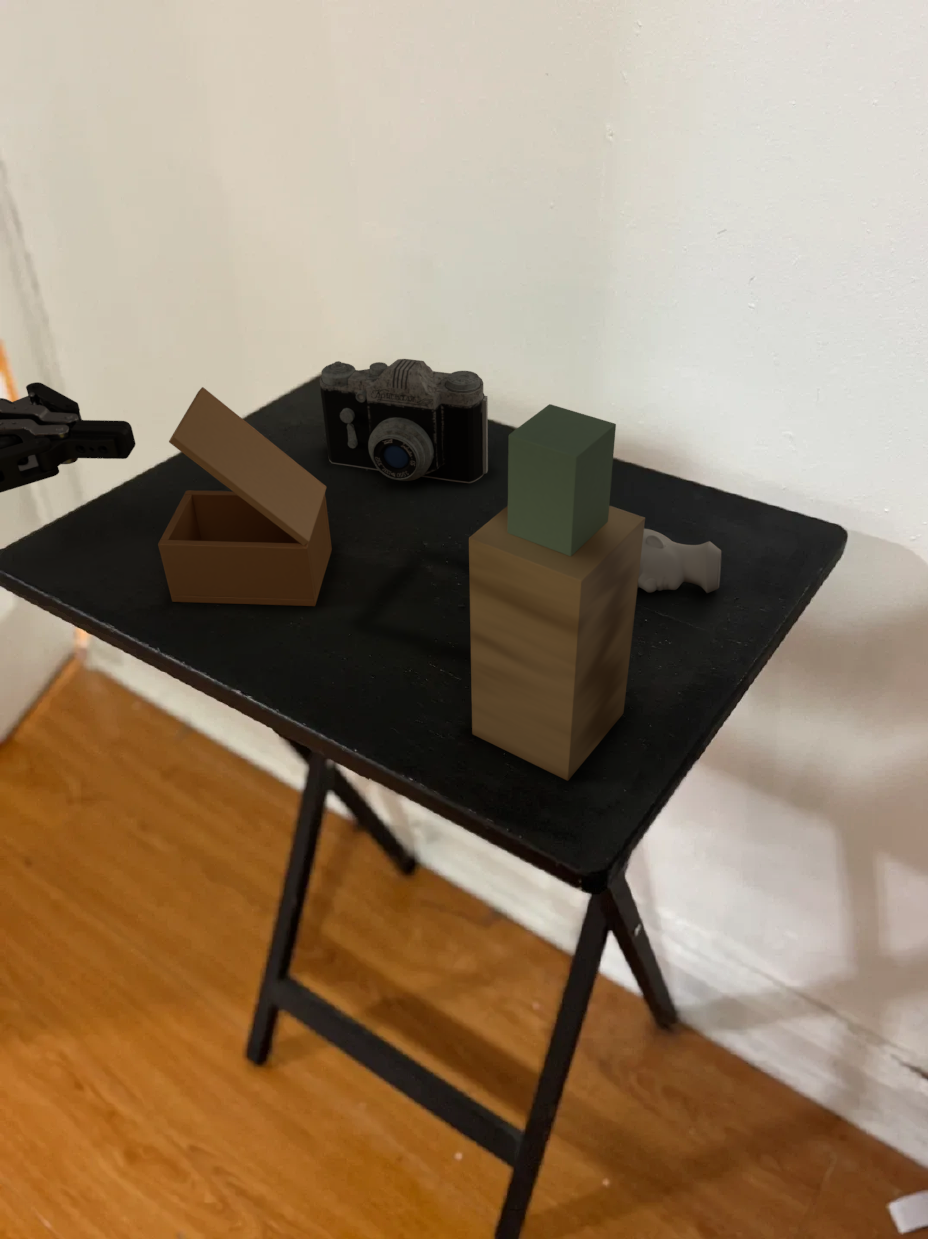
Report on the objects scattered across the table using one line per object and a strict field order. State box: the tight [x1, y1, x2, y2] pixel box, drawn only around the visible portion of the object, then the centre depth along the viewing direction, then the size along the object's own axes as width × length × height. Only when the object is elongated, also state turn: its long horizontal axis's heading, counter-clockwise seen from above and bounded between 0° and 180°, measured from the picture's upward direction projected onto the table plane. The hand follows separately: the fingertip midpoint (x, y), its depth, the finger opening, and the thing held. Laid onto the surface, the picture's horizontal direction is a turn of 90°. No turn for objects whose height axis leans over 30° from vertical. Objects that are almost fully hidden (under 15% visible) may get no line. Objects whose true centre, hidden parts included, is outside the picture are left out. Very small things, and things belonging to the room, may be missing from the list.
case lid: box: [168, 386, 327, 546], centre depth 72 cm, size 11×7×1 cm
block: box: [507, 403, 617, 556], centre depth 54 cm, size 4×4×6 cm
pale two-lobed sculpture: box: [637, 528, 722, 594], centre depth 75 cm, size 4×8×5 cm
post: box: [468, 505, 646, 782], centre depth 61 cm, size 7×7×15 cm
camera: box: [319, 358, 489, 484], centre depth 86 cm, size 15×7×10 cm, turn 73°
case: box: [157, 489, 333, 607], centre depth 77 cm, size 11×7×5 cm
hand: (130, 439), depth 72 cm, fingers closed
